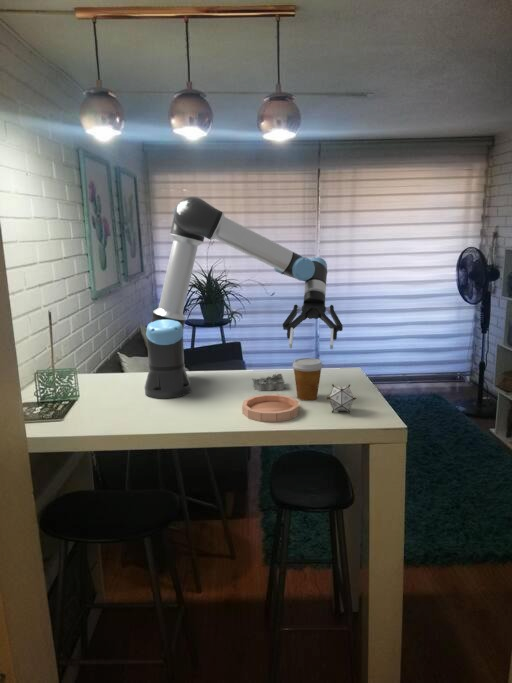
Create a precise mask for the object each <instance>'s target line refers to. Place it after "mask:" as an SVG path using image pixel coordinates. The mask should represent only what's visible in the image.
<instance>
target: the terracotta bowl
mask: <svg viewBox="0 0 512 683" xmlns="http://www.w3.org/2000/svg"><path fill="white" fill-rule="evenodd" d="M299 403H300V402H299V401H298V400H297V399H295V398H293V397H291V396H289V395H283V394H259V395H256V396H255V395H254V396H250V397H249V398H246V399H244V400H243V402H242V404H241V408H242V409H241V411H242V414H243V416H245V417H246V418H247V419H249V420H254V421H258V422H265V423H267V422H272V423H273V422H275V423H277V422H283V421H288V420H292V419H294V418H295V417H297V416H299V409H300V404H299Z"/></svg>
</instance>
